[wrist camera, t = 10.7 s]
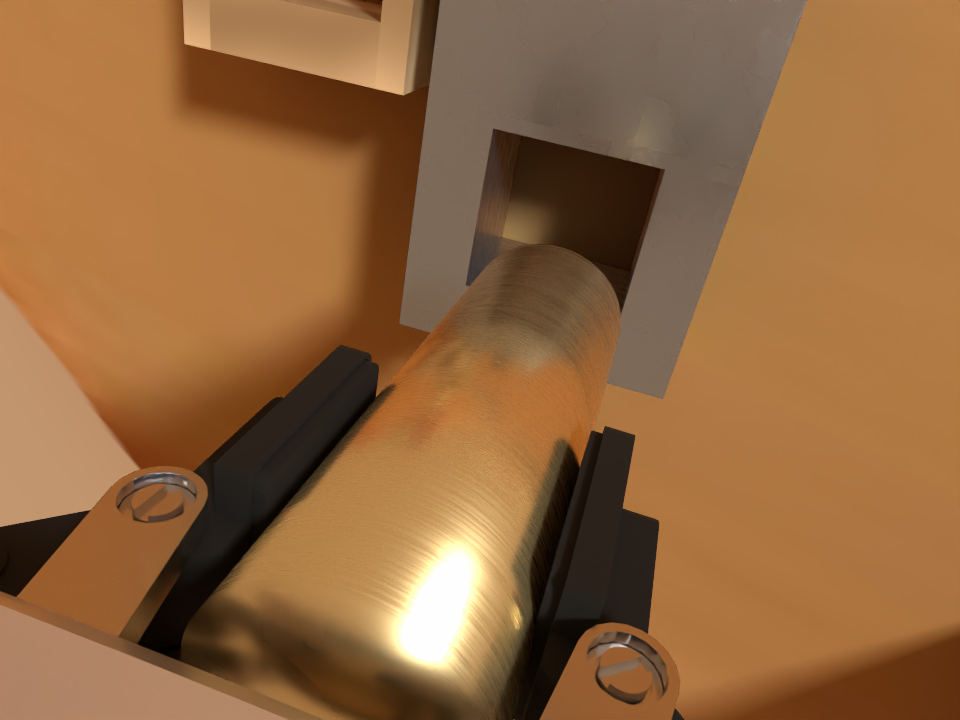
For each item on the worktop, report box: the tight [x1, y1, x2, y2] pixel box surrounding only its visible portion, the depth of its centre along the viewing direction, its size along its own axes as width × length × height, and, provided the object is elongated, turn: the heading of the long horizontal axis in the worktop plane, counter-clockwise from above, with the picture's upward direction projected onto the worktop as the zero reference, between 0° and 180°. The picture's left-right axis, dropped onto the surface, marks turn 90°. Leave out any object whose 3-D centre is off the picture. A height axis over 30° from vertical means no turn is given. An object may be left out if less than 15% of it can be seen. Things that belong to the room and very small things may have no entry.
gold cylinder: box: [180, 244, 621, 720], centre depth 13 cm, size 4×4×12 cm
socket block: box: [399, 0, 807, 399], centre depth 25 cm, size 14×10×6 cm
